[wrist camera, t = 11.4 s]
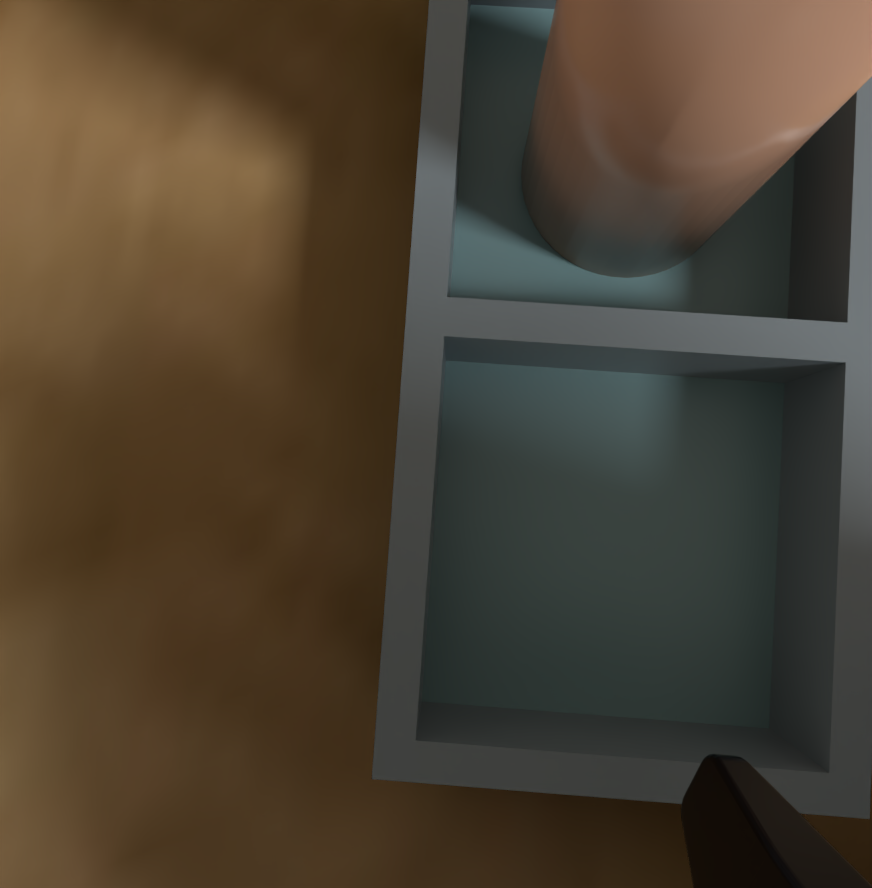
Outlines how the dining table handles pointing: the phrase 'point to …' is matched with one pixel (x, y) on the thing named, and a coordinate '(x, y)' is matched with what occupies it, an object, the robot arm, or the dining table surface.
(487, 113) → the divided tray
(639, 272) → the peach round cylinder
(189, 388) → the dining table surface
